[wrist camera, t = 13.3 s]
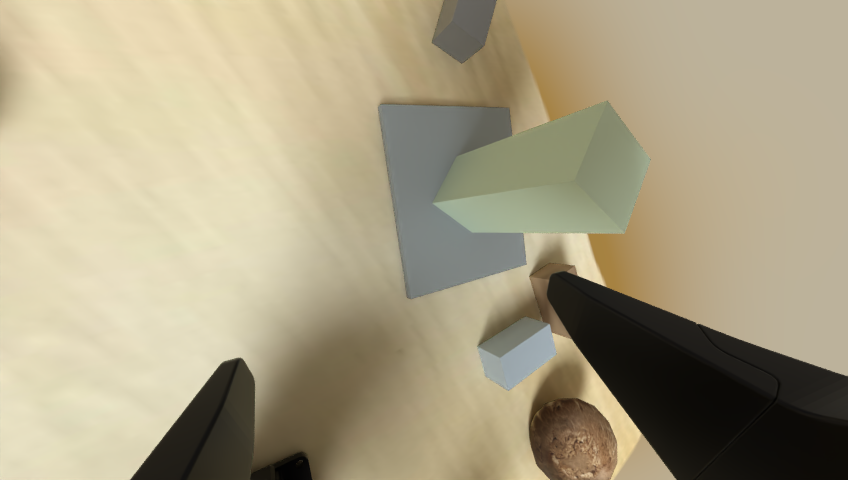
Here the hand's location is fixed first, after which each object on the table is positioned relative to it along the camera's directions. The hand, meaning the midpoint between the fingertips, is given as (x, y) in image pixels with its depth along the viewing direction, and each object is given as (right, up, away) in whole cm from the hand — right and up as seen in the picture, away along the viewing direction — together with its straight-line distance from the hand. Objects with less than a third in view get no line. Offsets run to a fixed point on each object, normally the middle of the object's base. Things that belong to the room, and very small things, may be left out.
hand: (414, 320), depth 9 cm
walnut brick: (+12, -3, +22) cm, 26 cm away
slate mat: (+3, +6, +17) cm, 18 cm away
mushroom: (+13, -17, +23) cm, 31 cm away
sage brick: (+3, +6, +16) cm, 18 cm away
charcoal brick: (+3, +20, +16) cm, 26 cm away
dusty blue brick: (+8, -7, +20) cm, 22 cm away
